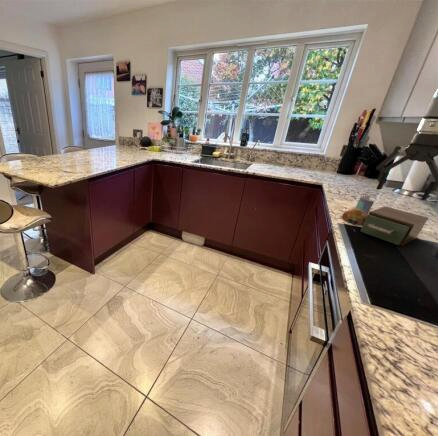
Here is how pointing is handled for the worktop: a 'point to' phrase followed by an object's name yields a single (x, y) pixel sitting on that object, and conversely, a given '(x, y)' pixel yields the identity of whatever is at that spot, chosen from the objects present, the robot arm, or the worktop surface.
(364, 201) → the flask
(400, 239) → the drawer
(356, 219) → the bread roll
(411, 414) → the worktop surface
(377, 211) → the cabinet
